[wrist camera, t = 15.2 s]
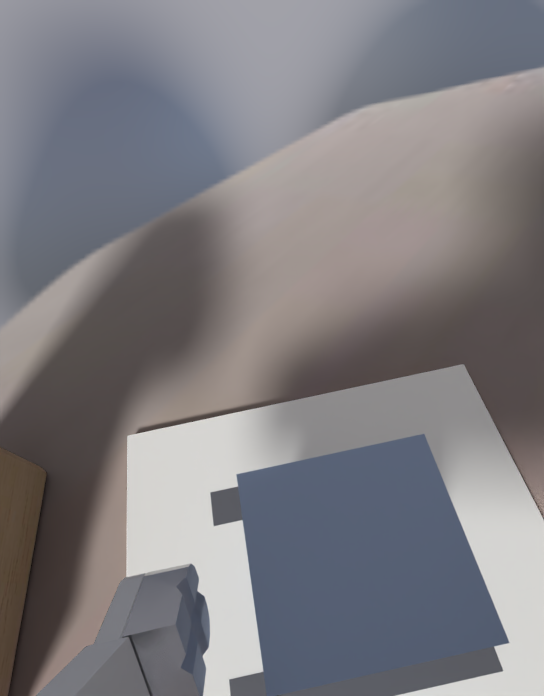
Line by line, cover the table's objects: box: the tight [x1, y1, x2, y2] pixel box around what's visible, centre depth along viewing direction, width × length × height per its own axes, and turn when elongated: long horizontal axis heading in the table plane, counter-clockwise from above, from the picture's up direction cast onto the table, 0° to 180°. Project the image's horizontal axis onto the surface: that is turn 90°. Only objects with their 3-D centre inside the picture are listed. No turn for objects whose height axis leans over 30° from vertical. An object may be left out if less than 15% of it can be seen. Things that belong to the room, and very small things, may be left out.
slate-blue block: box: [236, 434, 510, 696], centre depth 13 cm, size 5×4×9 cm
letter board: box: [126, 364, 544, 696], centre depth 17 cm, size 18×16×1 cm
